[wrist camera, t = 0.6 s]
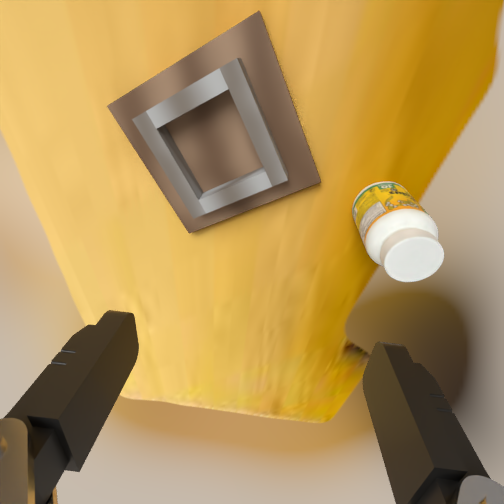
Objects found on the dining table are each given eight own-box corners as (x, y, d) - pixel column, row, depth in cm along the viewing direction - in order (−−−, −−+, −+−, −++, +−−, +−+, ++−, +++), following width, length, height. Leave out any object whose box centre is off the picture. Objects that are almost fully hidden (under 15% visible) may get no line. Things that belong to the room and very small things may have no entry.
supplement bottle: (340, 212, 30) (357, 268, 22) (378, 168, 27) (414, 213, 19) (381, 238, 31) (412, 300, 23) (422, 198, 29) (473, 252, 20)
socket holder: (260, 12, 22) (256, 6, 20) (320, 178, 29) (322, 189, 26) (112, 104, 27) (94, 109, 25) (191, 229, 33) (183, 242, 31)
